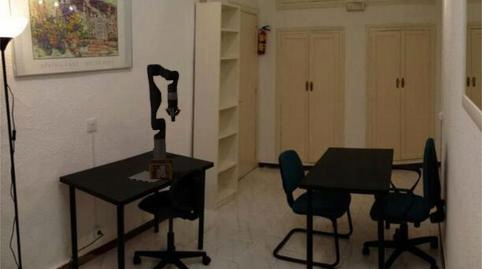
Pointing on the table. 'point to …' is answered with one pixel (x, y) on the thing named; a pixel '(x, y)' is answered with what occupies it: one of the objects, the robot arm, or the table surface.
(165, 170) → the supplement box
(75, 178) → the table surface
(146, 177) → the mat
